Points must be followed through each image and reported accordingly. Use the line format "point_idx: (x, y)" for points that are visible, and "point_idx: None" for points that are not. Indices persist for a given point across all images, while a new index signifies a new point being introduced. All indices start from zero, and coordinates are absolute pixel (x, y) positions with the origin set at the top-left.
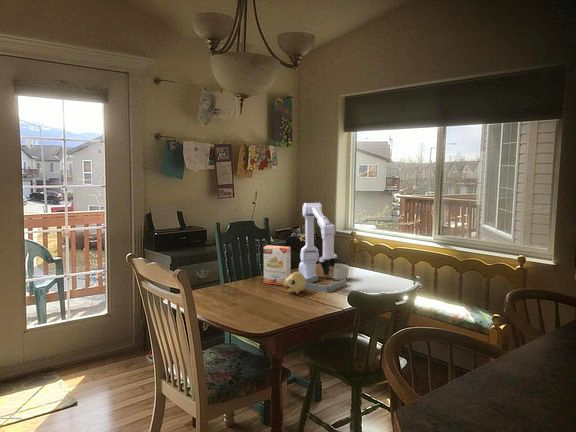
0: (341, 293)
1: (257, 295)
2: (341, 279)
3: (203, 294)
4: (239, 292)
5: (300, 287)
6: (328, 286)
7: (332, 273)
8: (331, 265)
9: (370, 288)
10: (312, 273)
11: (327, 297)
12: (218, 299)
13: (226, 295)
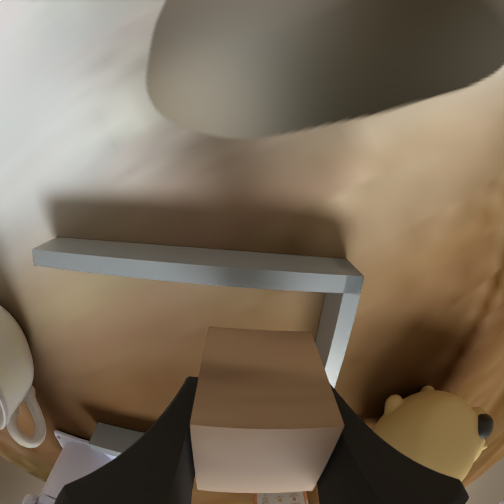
0: (320, 148)
1: None
2: (9, 314)
3: None
4: None
5: (453, 394)
6: (354, 278)
7: (244, 356)
8: (186, 469)
9: (66, 40)
10: (90, 465)
11: (453, 206)
12: (485, 460)
13: None
